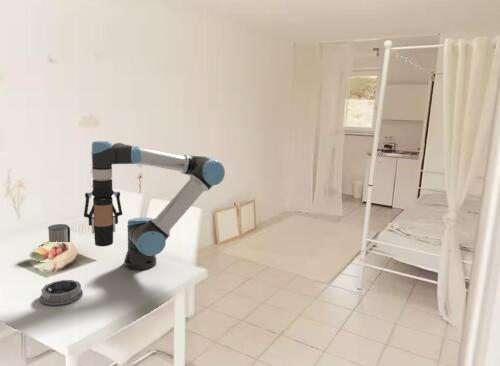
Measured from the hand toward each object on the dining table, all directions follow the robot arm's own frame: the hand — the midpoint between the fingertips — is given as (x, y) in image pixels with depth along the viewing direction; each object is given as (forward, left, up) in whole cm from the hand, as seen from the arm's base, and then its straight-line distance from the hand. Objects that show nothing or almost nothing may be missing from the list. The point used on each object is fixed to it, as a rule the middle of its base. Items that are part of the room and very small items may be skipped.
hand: (103, 231), depth 159 cm
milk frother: (+34, -35, -23) cm, 54 cm away
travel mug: (0, 0, -5) cm, 5 cm away
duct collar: (+13, +13, -23) cm, 29 cm away
